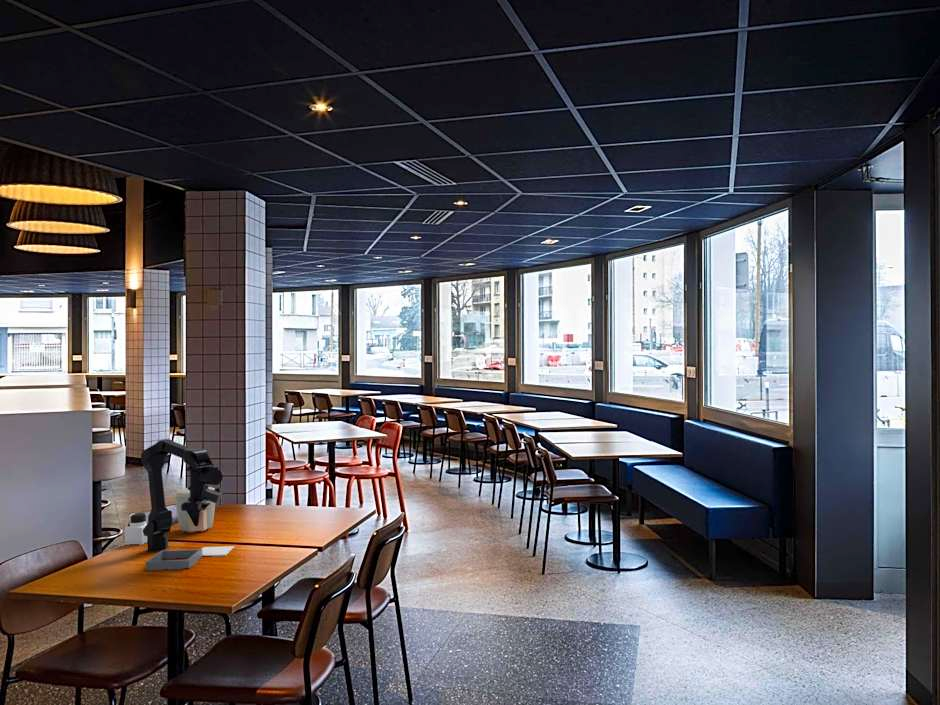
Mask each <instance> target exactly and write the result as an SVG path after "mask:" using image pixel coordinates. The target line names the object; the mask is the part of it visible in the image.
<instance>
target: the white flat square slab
mask: <svg viewBox="0 0 940 705" xmlns="http://www.w3.org/2000/svg"><path fill="white" fill-rule="evenodd" d="M233 548H234V549H235V545H232V546H231V545H229V546H224V545H223V546H202V548H201V549H202V556H212V557H226V556H227V554H228V553H229V552H230V551H231V550H232V549H233ZM234 549H233V550H234ZM233 550H232V551H233ZM232 551H231V552H232ZM231 552H230V553H231ZM230 553H229V554H230Z"/></svg>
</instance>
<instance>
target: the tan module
mask: <svg viewBox="0 0 940 705" xmlns="http://www.w3.org/2000/svg"><path fill="white" fill-rule="evenodd" d="M205 529H207V510H201V511H200V516H199V523H198V526H194V524H193V522H192V520H191V518H190V531H201V532H205V531H206V530H205ZM204 530H205V531H204Z"/></svg>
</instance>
